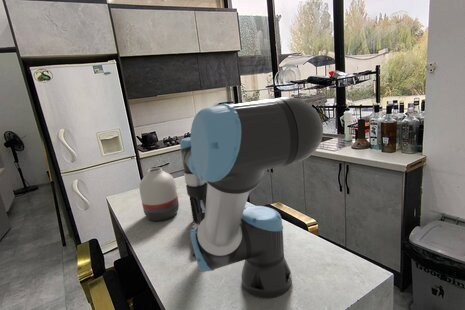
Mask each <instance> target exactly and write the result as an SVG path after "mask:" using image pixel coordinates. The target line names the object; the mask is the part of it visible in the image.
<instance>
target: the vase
mask: <svg viewBox="0 0 465 310" xmlns="http://www.w3.org/2000/svg"><path fill="white" fill-rule="evenodd" d="M138 187H139V195H140V200H141V204H142V210H143V213H144V215H145V217H146V218H147V219H148V220H150V221H155V222H158V221H165V220H168V219H170V218H172V217H174V216H176V214H177V213H178V211H179V206H180V205H179V198H178V191H177V185H176V181H175V179H174V177H173V175H171V174H170V173H168V172H166V171H164V170H163V169H162V167H151V168H150V169H148V170H147V173H146V175H144V176H143V178H142V179H141V180H140V183H139V186H138Z"/></svg>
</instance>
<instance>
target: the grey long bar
mask: <svg viewBox="0 0 465 310" xmlns="http://www.w3.org/2000/svg"><path fill="white" fill-rule="evenodd" d="M198 227H199V223H198V222H194V221H193V223H192V224H191V226H190V231H191V230H193V229H195V228H198ZM191 249H192V255H193V257H196V256H195V252H194V249H193V245H192V244H191Z"/></svg>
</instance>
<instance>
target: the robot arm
mask: <svg viewBox="0 0 465 310" xmlns="http://www.w3.org/2000/svg"><path fill="white" fill-rule="evenodd" d="M323 125H324V124H323V120H322V119H321V117H320V115H319V113H318V112H317V110H316V109H315V108H314V107H313V106H312V105H311V104H309V103H308V102H306V101H304V100H302V99H299V98H296V97H286V96H285V97H284V96H282V97H276V98H268V99H260V100H255V101H248V102H241V103H234V104H229V103H220V104H217V105H214V106H209V107H205V108H202V109H201V110H199V111H198V112H197V113H196V114H195V116H194V118H193V120H192V123H191V129H190V137H189V136H188V137H185V138H182V139H181V140H180V142H179V145H180V146H179V147H180V149H179V150H180V153H181V159H182V166H183V171H184V172H183V174H184V181H185V184H186V186H185V187H186V194H187V196H188V197H189V196H191V197H193V202H194V205H195V209H196V214H197V220H198V221H197V222H198V223H199V227H198V228H195V229H193V230H191V229H190V230H189V236H190V241H191V246H192V245H193V249H194V252H195V256H194V257H195V260H196V262H197V266H198V268H199V271H201V272H202V273H205V272H206V273H207V272H213V271H215V270H217V269H221V268H224V267H226V266H229V265H233V264H235V263H240V262H243V261H244V263H243V267H242V270H241V284H242V287H243V289H244V290H245V291H246V292H247V293H249V294H250V295H251V296H253V297H255V298H261V299H271V298H276V297H279V296H282V295H283V294H285V293H286V292H288V290H289V289H290V288H291V285H292V279H293V278H292V271H291V269H290V267H289V265H288V262H287V260H286V258H285V249H284V247H285V245H284V231H283V230H284V226H283V221H282V216H281V214H280V213H279V212H278V211H277V210H276V209H274V208H271V207H269V206H263V205H251V206H247V207H246V205H247V202H248V198H249V194H250V192H251V191H253V190H255V189H256V188H258V186H259V185H260V183H261V182H262V180H263V177H264V174H265V171H267V170H271V169H275V168H281V167H285V166H291V165H294V164H298V163H300V162H302V161H304V160H306V159H308V158H309V157H311V156H312V155H313V154H314V153H315V152H316V151H317V149H318V148H319V147H320V145H321V143H322V140H323V136H324V126H323ZM206 194H207V195H206ZM204 195H206V198H205V197H204Z"/></svg>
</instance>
